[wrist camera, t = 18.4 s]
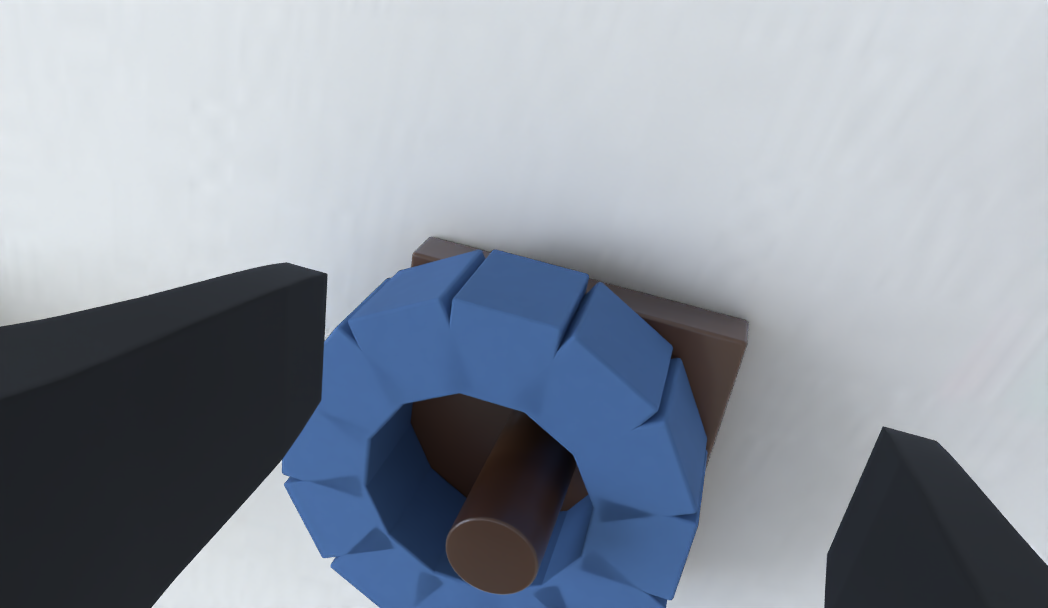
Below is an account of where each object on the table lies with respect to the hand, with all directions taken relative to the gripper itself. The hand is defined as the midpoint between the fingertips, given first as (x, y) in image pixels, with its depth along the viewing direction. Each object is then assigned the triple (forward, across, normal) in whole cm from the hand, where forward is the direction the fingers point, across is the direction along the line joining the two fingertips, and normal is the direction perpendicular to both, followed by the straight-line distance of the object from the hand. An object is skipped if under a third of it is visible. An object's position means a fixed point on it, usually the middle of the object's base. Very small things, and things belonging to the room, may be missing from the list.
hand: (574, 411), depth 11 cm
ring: (+8, +2, +7) cm, 11 cm away
